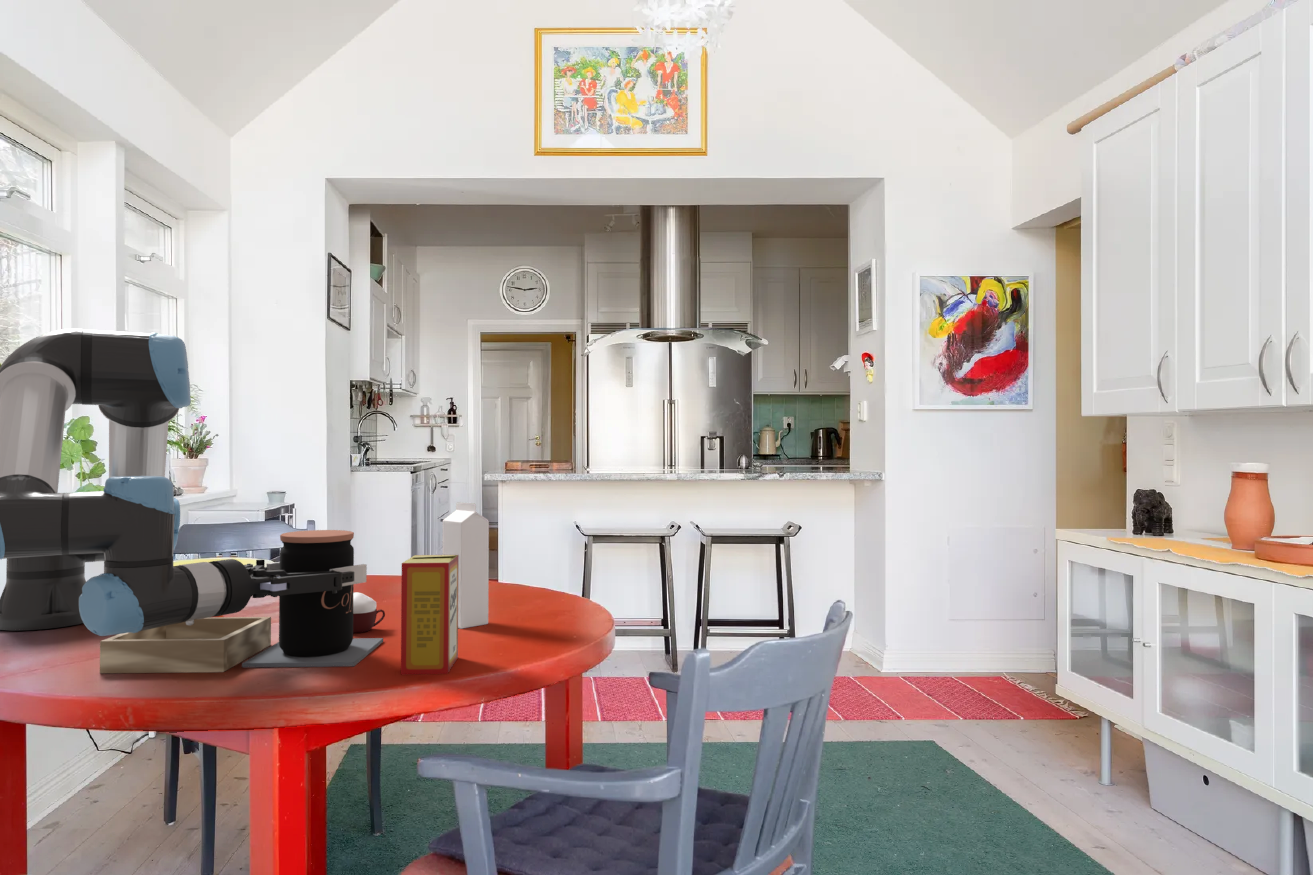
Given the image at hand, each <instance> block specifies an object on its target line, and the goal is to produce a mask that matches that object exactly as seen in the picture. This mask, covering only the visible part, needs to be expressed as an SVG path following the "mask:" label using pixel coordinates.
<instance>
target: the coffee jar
mask: <svg viewBox="0 0 1313 875" xmlns="http://www.w3.org/2000/svg"><path fill="white" fill-rule="evenodd" d="M354 535H355V533H354V532H353V531H351V530H344V529H343V530H342V529H340V530H338V529H311V530H297V531H295V530H294V531H288V532H284V533H281V534H280V535H279V538H280V539H279V540H280V542H281V543H282V544H283V547H282V548H281V549H280V551H279V562H280V570H285V571H286V573H300V572H320V571H330V569H335V568H341V567H348V566H354V562H355V560H354V559H355V557H354V555H355V549H354V546H353V545H352V542H351V541H352V540H353V539H354V538H355V537H354ZM354 585H355V584H353V585H347V586H342V589H341V590H339V591H337V593H334V594H332V591H322V592H311V593H300V594H289V595H283V596H278V597H279V599H278V600H279V601H278V602H279V603H278V606H279V608H278V612H279V613H278V642H279V646H280V648H281V649H282V650H283V652H284V654H285V655H289V656H294V657H319V656H327V655H332V654H337V653H340V652H343V651H345V650H347V649H348V647H349V646H350V644H351V643H352V640H353V638H354V633H353V593H354V587H355V586H354Z"/></svg>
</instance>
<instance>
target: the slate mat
mask: <svg viewBox="0 0 1313 875" xmlns="http://www.w3.org/2000/svg"><path fill="white" fill-rule="evenodd" d="M383 642H384V638H383V637H375V638H373V637H372V638H371V637H370V638H369V637H367V638H364V637H363V638H361V637H359V638H354V637H353V640H352V643H351V644H350V646H349V647H348V649H347V650H345V651H343V652H340V653H337V654H332V655H327V656H319V657H294V656H289V655H285V654H284V652H283V650H282V649H281V648H280V646H279V641H278V642H276V643H274V644H272V645H270V647H269V646H268V647H266V648H265V649H263V651H262V650H261V651H260V652H258V653H256V654H254V655H253V656H251V657H249V659H248V658H247V659H246V660H244V661H242V662H241V668H304V667H305V668H306V667H307V668H313V667H315V668H317V667H322V668H323V667H355V666H356V665H358V663H360V662H361V661H362V660H364V658H366V657H367V656H368V655H369V654H370V653H372V652H373V651H374V650H375V649H377V647H379V646H380V645H381V644H383Z"/></svg>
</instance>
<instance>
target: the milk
mask: <svg viewBox="0 0 1313 875" xmlns="http://www.w3.org/2000/svg"><path fill="white" fill-rule="evenodd" d="M455 504H456V505H455V511H452V513H451V514H448V516H446V517H445V518H443V519H442V555H459V561H458V629H467V628H473V627H477V626H483V625H484V626H485V625H488V624H489V573H490V572H489V567H490V566H489V562H490V560H489V555H490V553H489V552H490V548H489V546H490V545H489V544H490V543H489V542H490V534H489V532H490V526H489V525H490V522H489V519H488V518H486V517H485V516H483V515H482V514H480V513H479V512H478V511H477V510H476V508H477V505H476V503H473V502H461V501H457V502H456V503H455Z"/></svg>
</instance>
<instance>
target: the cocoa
mask: <svg viewBox="0 0 1313 875" xmlns="http://www.w3.org/2000/svg"><path fill="white" fill-rule="evenodd" d="M378 613H382V615H381V618H379V619H378V620H377V615H378ZM385 616H386V613H385V610H384V609H378V610H377V601H376V600H374V599H373V598H372V597H371V596H370V597H369V596H368V595H366V594H364V593H362V592H353V634H361V633H366V632H368V631H370V630H371V629H372V628H374V627H376V626H377V625H379V624H380V623H381V622H382V621H383V620H384V619H385Z"/></svg>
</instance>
